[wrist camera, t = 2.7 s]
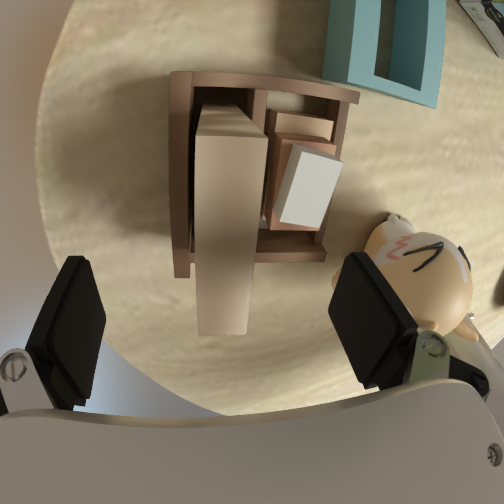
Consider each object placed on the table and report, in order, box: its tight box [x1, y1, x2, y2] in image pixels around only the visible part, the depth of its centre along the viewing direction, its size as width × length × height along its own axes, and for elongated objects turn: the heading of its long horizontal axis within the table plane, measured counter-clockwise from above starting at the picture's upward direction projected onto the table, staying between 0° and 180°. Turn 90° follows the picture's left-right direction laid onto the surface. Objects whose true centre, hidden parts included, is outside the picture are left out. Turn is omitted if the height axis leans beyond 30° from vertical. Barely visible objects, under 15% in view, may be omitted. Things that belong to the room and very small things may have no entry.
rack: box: [169, 71, 360, 278], centre depth 22 cm, size 13×15×6 cm
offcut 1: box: [260, 109, 334, 220], centre depth 24 cm, size 4×9×3 cm, turn 173°
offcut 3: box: [274, 144, 343, 228], centre depth 19 cm, size 3×5×2 cm, turn 166°
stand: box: [321, 0, 446, 109], centre depth 15 cm, size 8×15×5 cm, turn 175°
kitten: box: [332, 214, 479, 342], centre depth 25 cm, size 15×10×15 cm
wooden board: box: [194, 103, 268, 336], centre depth 18 cm, size 2×10×14 cm, turn 175°
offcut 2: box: [264, 132, 336, 231], centre depth 22 cm, size 4×7×2 cm, turn 175°
